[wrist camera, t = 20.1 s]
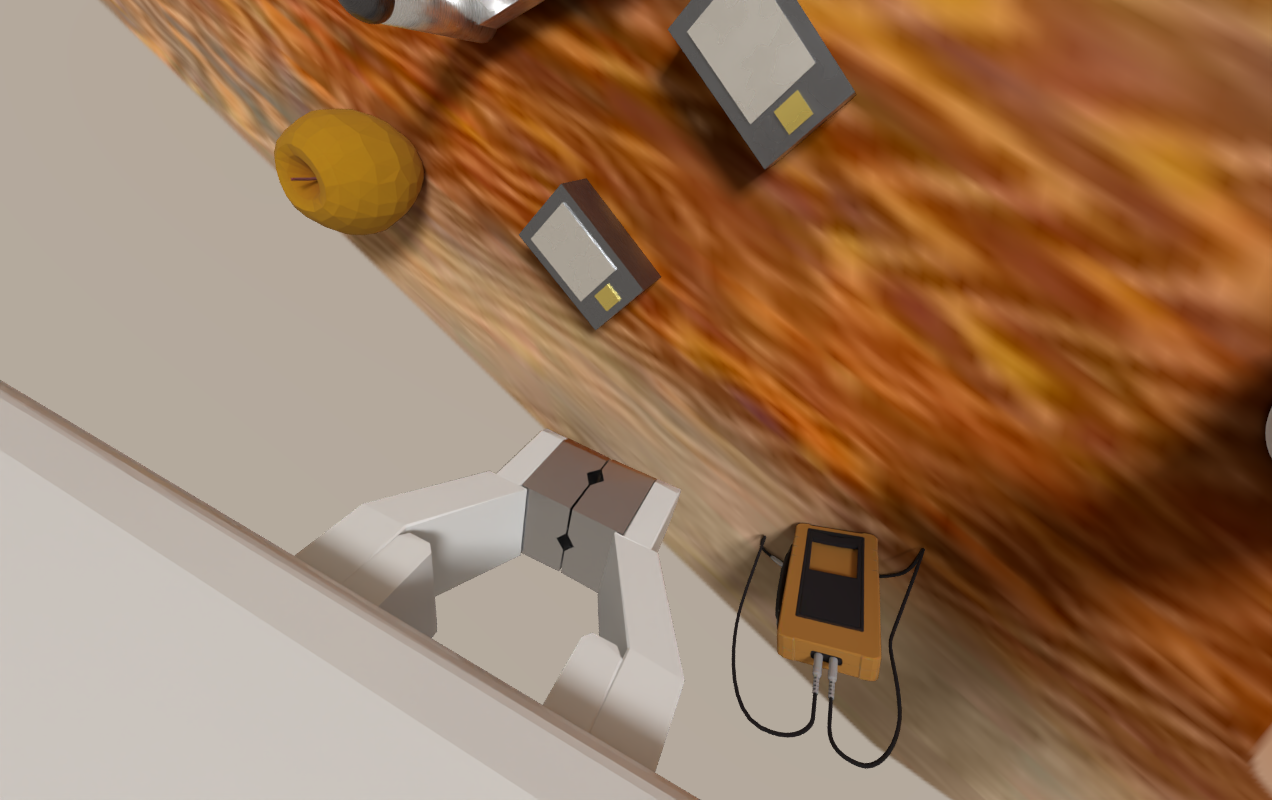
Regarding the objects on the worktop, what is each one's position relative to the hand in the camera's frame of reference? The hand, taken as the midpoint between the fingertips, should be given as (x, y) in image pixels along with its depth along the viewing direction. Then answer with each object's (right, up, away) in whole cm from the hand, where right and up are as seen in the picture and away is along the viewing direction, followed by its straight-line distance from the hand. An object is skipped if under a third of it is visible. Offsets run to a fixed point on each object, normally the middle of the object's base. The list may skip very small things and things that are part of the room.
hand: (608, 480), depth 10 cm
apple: (-21, +24, +36) cm, 48 cm away
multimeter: (+21, -15, +38) cm, 46 cm away
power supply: (-2, +15, +32) cm, 35 cm away
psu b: (+9, +23, +21) cm, 33 cm away
